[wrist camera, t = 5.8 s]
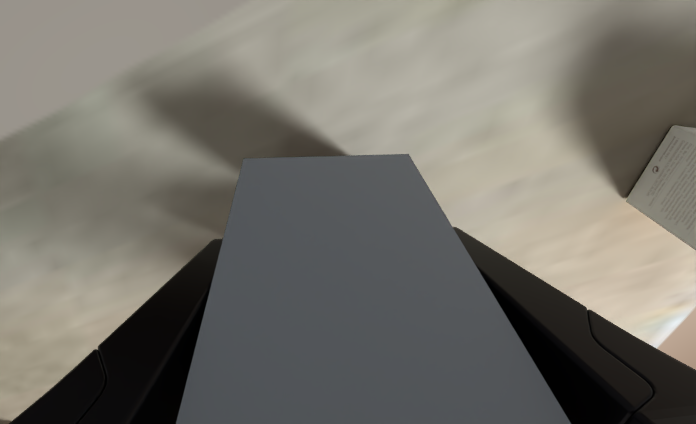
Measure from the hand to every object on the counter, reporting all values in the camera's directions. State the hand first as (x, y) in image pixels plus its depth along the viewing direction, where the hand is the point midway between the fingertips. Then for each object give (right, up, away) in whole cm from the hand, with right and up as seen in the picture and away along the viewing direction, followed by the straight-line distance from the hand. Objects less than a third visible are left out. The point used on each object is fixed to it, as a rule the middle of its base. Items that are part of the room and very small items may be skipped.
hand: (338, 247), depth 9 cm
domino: (0, +2, +2) cm, 3 cm away
